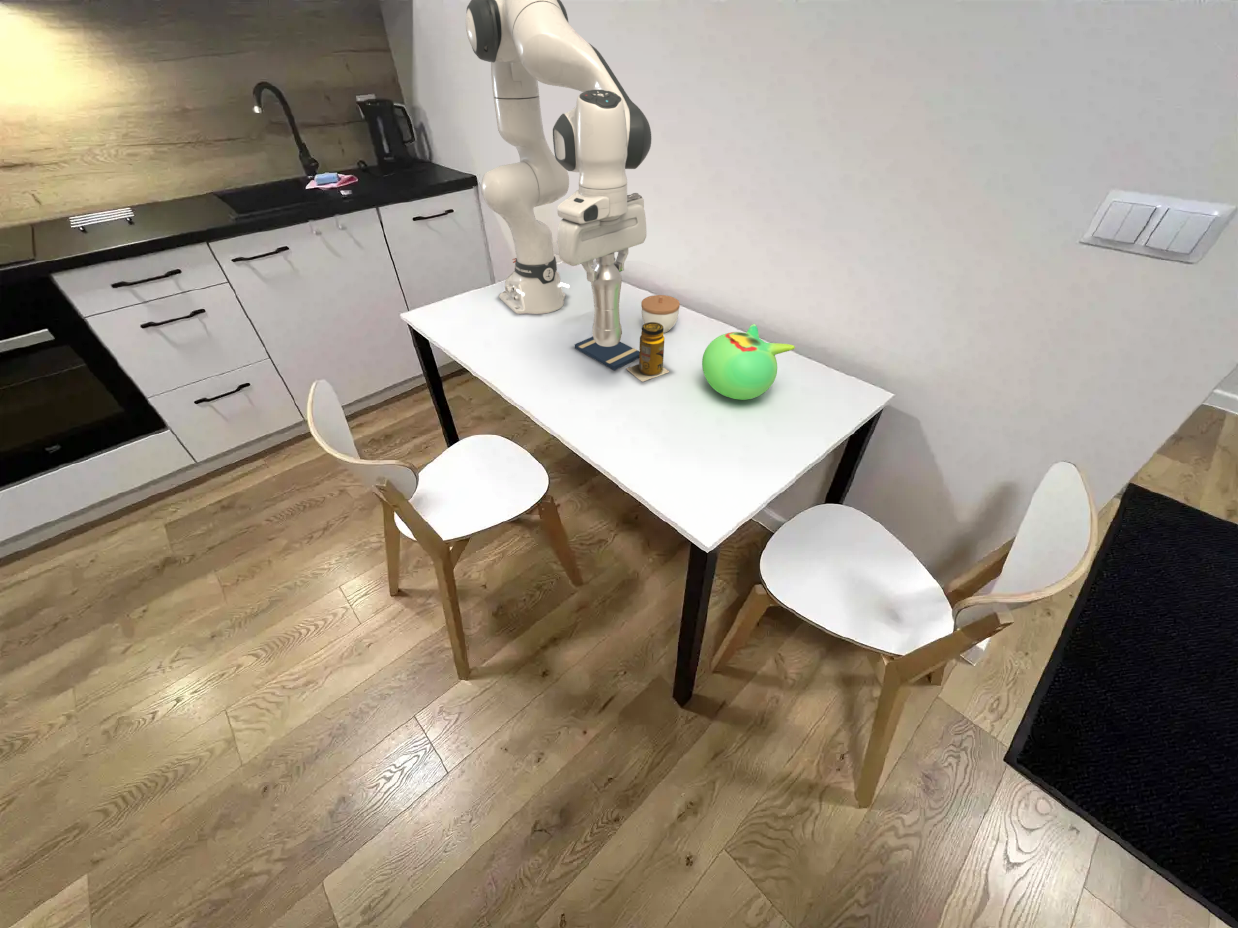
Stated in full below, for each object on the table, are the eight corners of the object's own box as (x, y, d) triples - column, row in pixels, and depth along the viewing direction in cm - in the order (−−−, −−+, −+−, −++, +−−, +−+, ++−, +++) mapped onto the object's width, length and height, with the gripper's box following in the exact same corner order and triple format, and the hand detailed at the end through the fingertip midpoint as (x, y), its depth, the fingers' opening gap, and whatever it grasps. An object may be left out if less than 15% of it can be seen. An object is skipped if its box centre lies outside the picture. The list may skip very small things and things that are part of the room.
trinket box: (675, 319, 146) (677, 288, 140) (680, 336, 138) (682, 304, 132) (639, 320, 146) (640, 289, 140) (641, 337, 138) (642, 305, 132)
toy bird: (687, 379, 122) (692, 324, 112) (744, 365, 127) (754, 311, 117) (726, 419, 109) (736, 361, 100) (789, 401, 114) (804, 344, 104)
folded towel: (574, 348, 134) (574, 344, 133) (602, 336, 139) (601, 332, 138) (614, 370, 125) (614, 366, 124) (642, 356, 130) (642, 352, 129)
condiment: (669, 372, 124) (672, 328, 116) (642, 382, 121) (643, 338, 113) (652, 360, 129) (654, 316, 121) (625, 369, 126) (625, 325, 118)
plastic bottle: (607, 333, 114) (605, 243, 100) (628, 343, 110) (628, 251, 97) (586, 343, 111) (581, 251, 97) (607, 353, 107) (604, 260, 94)
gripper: (632, 188, 98) (631, 259, 107) (549, 208, 88) (556, 285, 97) (654, 193, 94) (652, 266, 104) (571, 216, 84) (577, 294, 93)
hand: (605, 276), depth 100 cm, fingers closed on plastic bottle, 6 cm apart
